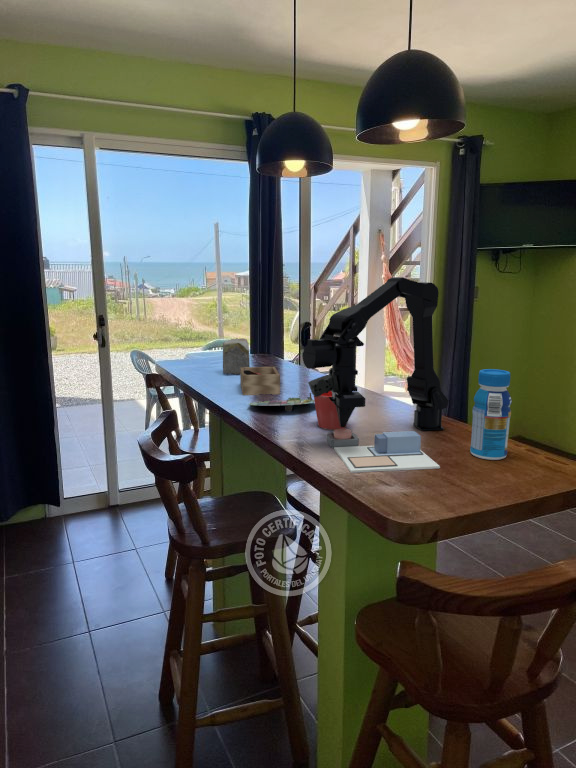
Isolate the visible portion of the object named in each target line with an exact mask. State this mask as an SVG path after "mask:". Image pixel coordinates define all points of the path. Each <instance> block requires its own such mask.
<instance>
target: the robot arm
mask: <svg viewBox="0 0 576 768" xmlns="http://www.w3.org/2000/svg"><path fill="white" fill-rule="evenodd" d="M398 297H399V298H403V299H404V301H405V305H406V308H407V310H408V312H409V314H410V316H411V318H412V336H413V338H412V339H413V360H414V361H413V362H414V363H413V364H414V367H413V368H414V370H413V372H412V373H411V376H407V377H406V383H407V387H406V392H408V394H409V395H408V396H410V397H411V402H412V404H413V405H416V409H415V410H414V414H413V426H414V427H416V428H417V429H419V430H420V431H443V430H445V429H444V427H443V426H442V421H443V420H442V418H443V410H444V409H446V408H447V407H448V404H449V398H447V396H446V395H445V394H444V392H442V387H441V381H440V378H439V376H438V375H437V373H436V370H435V368H434V346H433V345H434V344H433V343H434V342H433V341H434V339H433V315H434V313H435V311H436V309H437V308H438V303H439V287H438V286H437V285H436V284H435V283H433V282H426V281H425V282H422V281H421V282H419V281H415V280H412V279H408V278H406V277H403V276H402V277H401V276H400V277H398V276H397V277H396V276H394V277H393V276H392V277H390V278H388V279H387V280H386V282H385V283H383V284H382V285H381V286H379V287H378V288H376V289H375V290H374V291H373V292H371V293H370V294H368V295H367V296H366V297H365V298H364V299H362V300H361V301H359V302H357V304H355V305H352V306H350V307H347V308H343V309H341V310H339V311H337V312H335V313H333V314H332V315H331V316H330V318H329V323H328V324H327V326H326V328H325V330H324V331H323V333H322V334H321V336H320V338H319V339H313V338H312V339H311V338H309V339H307V344H306V345H305V346H304V349H303V351H302V356H301V357H302V361H303V362H302V363H303V365H304V366H305V367H306V369H309V370H310V369H320V368H329V367H330V368H329V369H328V374H326V375H322V376H319V377H317V378H315V379H312V380H310V381H308V383H307V384H308V385H309V389H310V391H311V392H310V393H311V395H313V396H314V397H318V396H321V394H324V393H328V392H329V391H331V392H332V397H329V399H330V400H331V401H332V402H333V403H334V404H335V406H336V410H337V414H338V419H339V423H340V427H345V426H346V427H347V425H346V424H348V422H349V420H350V418H351V416H352V414H353V413H354V411H355V409H356V408H365V407H366V397H364V395H363V394H362V393H360V392H359V391H358V387H357V386H356V376H358V375H359V374H358V373H359V372H358V370H357V366H356V365H357V347H363V346H364V345H365V343H364V342H363V341H362V340H360V338H359V335H360V334H361V332H363V331H364V329H365V328H366V327H367V324H368V322H369V320H371V318H372V317H374V316H375V315H376V314H377V313H379V312H380V311H381V310H383V309H384V308H385V307H387V306H388V305H389V304H391V303H392V302H394V301H395V299H398ZM314 397H313V398H314ZM346 427H345V428H346Z"/></svg>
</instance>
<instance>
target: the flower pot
mask: <svg viewBox="0 0 576 768" xmlns="http://www.w3.org/2000/svg"><path fill="white" fill-rule="evenodd" d="M329 397H332V392H331V391H329V392H328V393H324V394H321V396H318V397H313V400H314V401H315V402H314V407H315V414H316V419H317V424H318V427H319V428H322V429H324V430H328V431H329V430H331V431H334V430H335V429H346V428H347V424H348V423H347V424H346V426H345V427H340V423H339V419H338V414H337V410H336V406H335V404H334V403H333V402H332V401H331V400H330V399H329Z"/></svg>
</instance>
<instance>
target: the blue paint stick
mask: <svg viewBox="0 0 576 768" xmlns="http://www.w3.org/2000/svg"><path fill="white" fill-rule="evenodd" d="M421 439H422V436H421V435H420V434H419V433H418V432H416V431H415V430H413V431H411V430H409V431H389V432H387V431H386V432H385V431H383V432H382V433H378V434H377V433H375V434H374V442H373V446H374V448H375V449H376V451H377V452H378V453H382V452H386V453H387V454H396V453H418V452H420V450H421V441H422V440H421Z"/></svg>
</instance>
